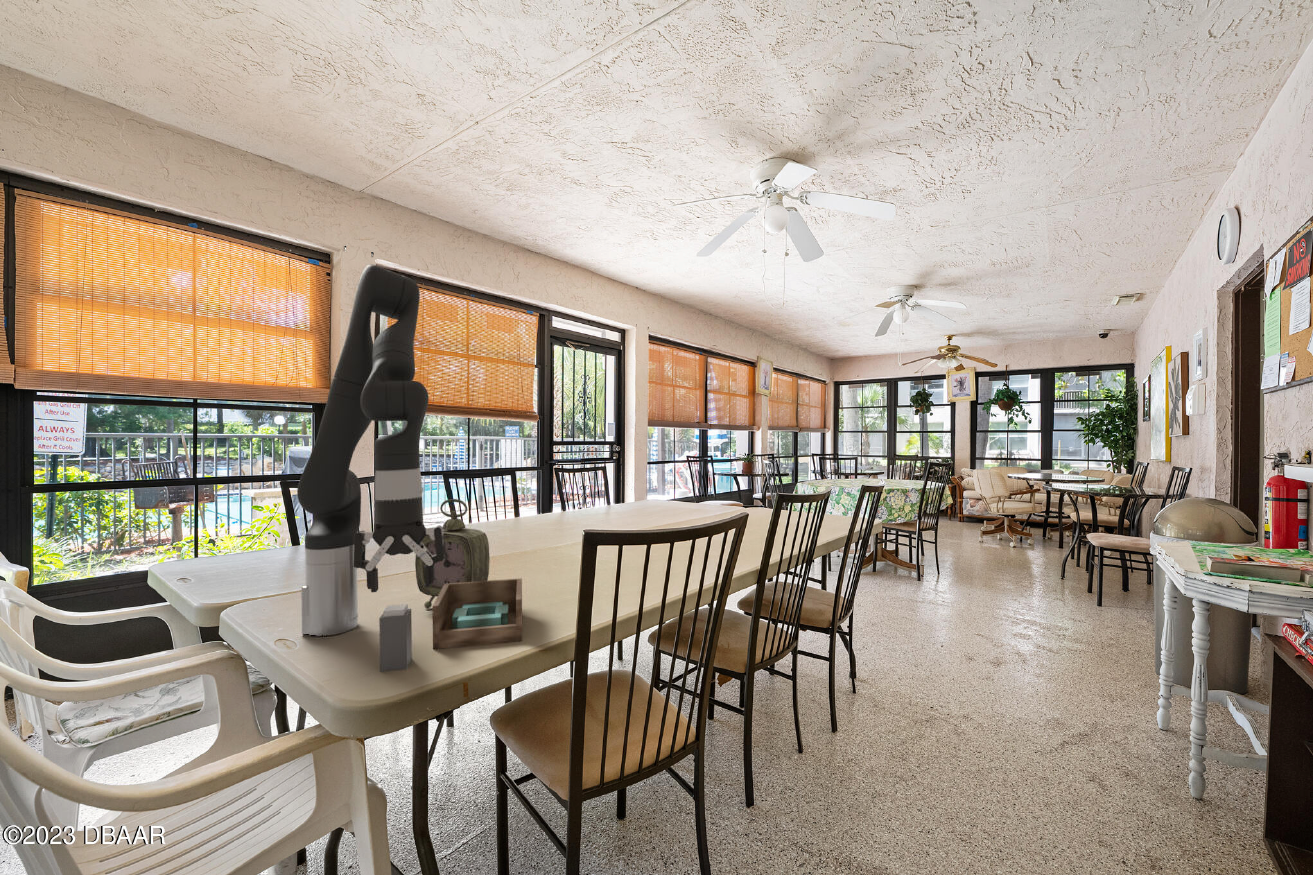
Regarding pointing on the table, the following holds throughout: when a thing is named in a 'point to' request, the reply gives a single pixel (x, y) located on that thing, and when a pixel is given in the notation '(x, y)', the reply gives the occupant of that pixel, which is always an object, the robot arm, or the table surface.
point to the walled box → (478, 613)
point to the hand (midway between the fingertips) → (401, 588)
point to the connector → (395, 638)
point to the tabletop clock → (455, 556)
